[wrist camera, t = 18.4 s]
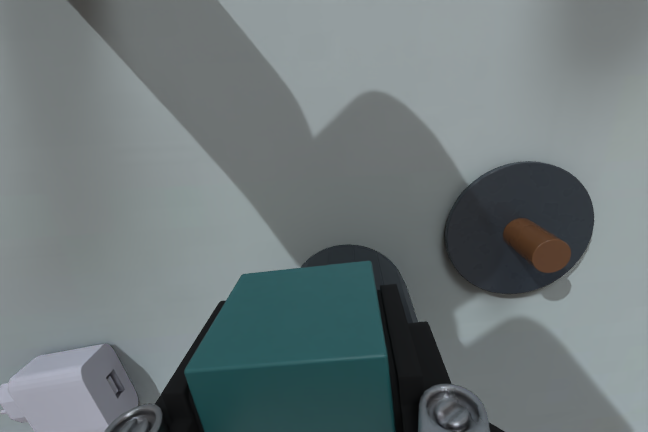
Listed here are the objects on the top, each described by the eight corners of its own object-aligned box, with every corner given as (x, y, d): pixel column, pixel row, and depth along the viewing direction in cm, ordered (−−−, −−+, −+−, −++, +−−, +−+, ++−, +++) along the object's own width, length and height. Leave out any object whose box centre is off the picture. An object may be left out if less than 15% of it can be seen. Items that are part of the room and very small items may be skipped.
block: (241, 273, 11) (181, 370, 7) (371, 259, 11) (388, 355, 7) (267, 376, 13) (229, 509, 8) (383, 367, 12) (403, 503, 8)
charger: (-2, 359, 40) (109, 339, 38) (36, 417, 43) (141, 401, 41) (-46, 391, 35) (77, 370, 33) (-1, 454, 38) (116, 437, 36)
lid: (441, 169, 30) (465, 185, 24) (592, 151, 28) (656, 163, 23) (444, 293, 34) (466, 332, 28) (578, 281, 32) (630, 320, 26)
